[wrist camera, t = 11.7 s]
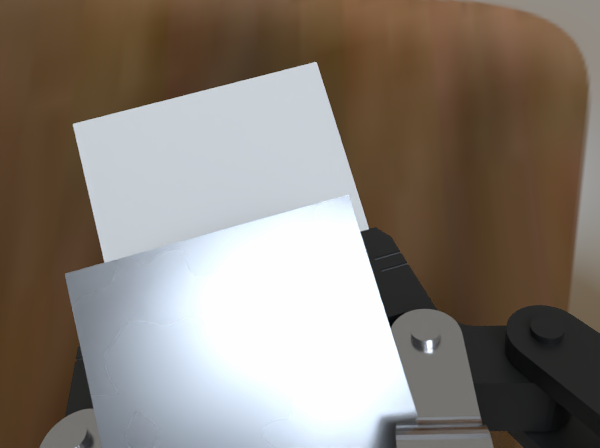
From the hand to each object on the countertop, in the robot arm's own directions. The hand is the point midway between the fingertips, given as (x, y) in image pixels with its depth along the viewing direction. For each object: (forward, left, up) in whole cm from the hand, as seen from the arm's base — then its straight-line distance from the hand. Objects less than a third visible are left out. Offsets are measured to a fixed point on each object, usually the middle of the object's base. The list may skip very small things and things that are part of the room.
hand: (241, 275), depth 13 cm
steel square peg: (0, -2, -4) cm, 5 cm away
